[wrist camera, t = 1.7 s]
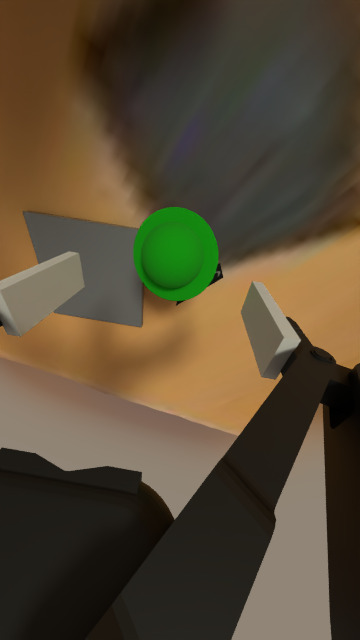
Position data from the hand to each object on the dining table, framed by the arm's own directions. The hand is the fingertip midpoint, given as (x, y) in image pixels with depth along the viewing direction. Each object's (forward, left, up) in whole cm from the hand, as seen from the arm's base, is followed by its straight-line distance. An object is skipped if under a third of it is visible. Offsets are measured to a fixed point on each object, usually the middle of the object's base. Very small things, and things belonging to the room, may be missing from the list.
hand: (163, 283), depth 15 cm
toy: (0, 0, -18) cm, 18 cm away
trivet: (+9, -15, -17) cm, 24 cm away
